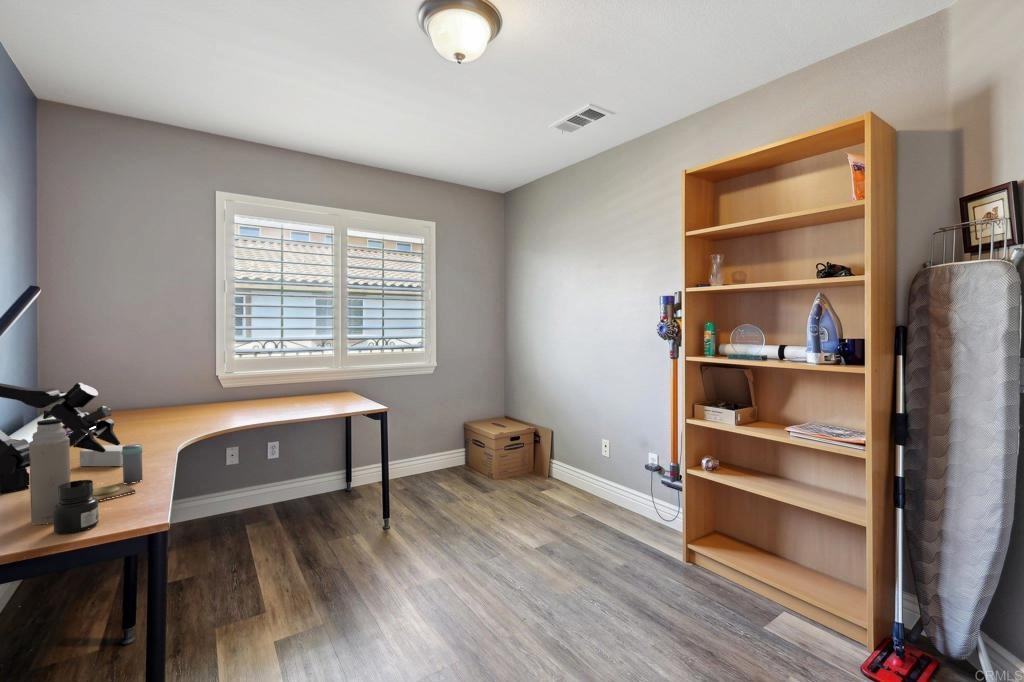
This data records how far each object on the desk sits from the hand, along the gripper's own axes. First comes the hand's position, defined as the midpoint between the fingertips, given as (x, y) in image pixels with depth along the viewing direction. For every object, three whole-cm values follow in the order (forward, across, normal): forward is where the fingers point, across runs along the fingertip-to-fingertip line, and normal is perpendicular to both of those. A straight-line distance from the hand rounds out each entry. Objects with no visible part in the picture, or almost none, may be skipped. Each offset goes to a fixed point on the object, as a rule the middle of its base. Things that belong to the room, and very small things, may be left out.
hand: (112, 447), depth 160 cm
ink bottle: (+16, -39, +2) cm, 42 cm away
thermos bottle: (+8, -31, +9) cm, 33 cm away
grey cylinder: (+13, 0, +4) cm, 13 cm away
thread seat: (+11, -13, +6) cm, 18 cm away
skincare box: (-8, +28, +20) cm, 36 cm away
